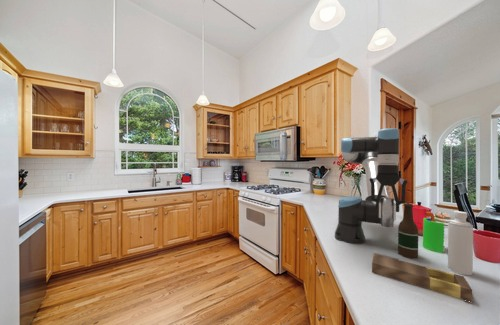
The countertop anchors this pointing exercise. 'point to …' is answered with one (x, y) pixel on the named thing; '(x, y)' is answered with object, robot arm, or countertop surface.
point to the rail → (423, 277)
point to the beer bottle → (408, 234)
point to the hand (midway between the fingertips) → (387, 218)
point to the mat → (386, 256)
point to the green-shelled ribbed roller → (433, 234)
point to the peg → (387, 212)
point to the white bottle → (460, 244)
